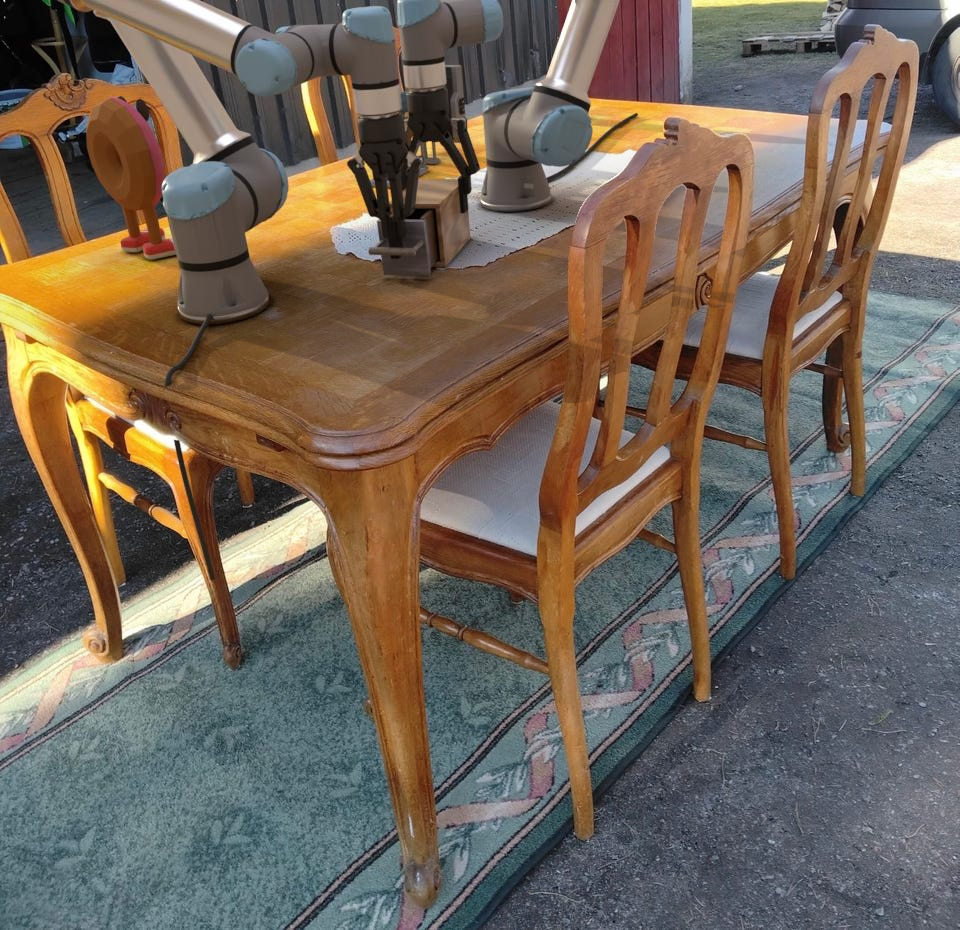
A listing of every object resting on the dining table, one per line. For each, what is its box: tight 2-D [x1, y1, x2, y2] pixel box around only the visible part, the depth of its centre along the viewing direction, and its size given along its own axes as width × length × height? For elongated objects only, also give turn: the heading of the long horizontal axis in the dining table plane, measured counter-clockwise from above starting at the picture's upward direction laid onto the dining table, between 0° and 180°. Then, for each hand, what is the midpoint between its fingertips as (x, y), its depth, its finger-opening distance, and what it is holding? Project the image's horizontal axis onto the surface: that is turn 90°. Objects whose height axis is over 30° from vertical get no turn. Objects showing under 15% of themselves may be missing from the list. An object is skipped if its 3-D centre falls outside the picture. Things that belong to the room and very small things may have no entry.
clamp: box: [370, 64, 467, 189], centre depth 236 cm, size 35×9×21 cm, turn 151°
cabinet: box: [389, 178, 471, 268], centre depth 181 cm, size 16×10×12 cm, turn 164°
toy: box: [85, 95, 177, 261], centre depth 190 cm, size 21×10×30 cm, turn 47°
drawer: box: [368, 208, 440, 277], centre depth 173 cm, size 21×9×10 cm, turn 164°
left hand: (397, 256), depth 167 cm, fingers closed
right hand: (438, 210), depth 185 cm, fingers closed on cabinet, 10 cm apart
